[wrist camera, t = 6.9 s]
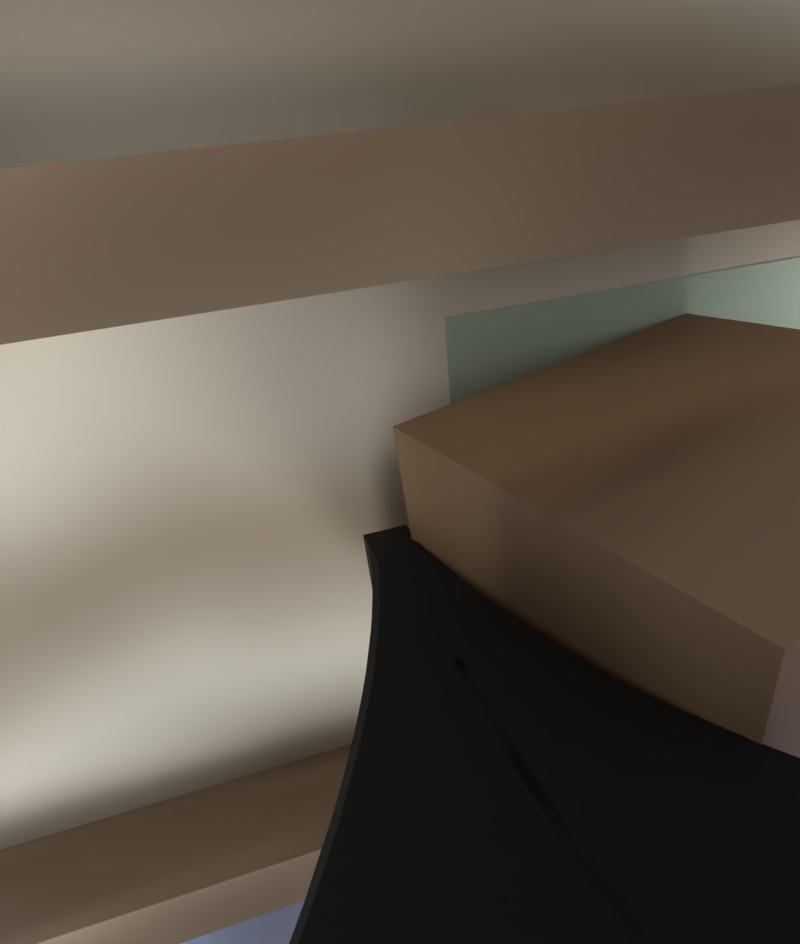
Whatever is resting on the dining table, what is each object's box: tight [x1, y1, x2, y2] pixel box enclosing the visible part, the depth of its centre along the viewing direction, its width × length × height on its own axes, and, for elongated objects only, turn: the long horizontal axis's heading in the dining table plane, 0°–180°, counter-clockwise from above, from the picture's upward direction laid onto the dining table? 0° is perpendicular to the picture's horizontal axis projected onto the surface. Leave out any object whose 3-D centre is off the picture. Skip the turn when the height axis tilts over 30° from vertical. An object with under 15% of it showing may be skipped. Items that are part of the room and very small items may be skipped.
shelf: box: [0, 0, 800, 944], centre depth 11 cm, size 17×30×4 cm, turn 96°
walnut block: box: [393, 313, 800, 758], centre depth 8 cm, size 6×6×5 cm
